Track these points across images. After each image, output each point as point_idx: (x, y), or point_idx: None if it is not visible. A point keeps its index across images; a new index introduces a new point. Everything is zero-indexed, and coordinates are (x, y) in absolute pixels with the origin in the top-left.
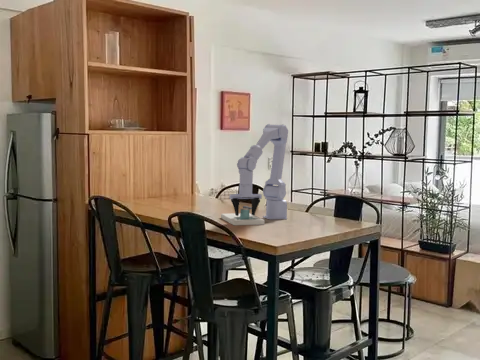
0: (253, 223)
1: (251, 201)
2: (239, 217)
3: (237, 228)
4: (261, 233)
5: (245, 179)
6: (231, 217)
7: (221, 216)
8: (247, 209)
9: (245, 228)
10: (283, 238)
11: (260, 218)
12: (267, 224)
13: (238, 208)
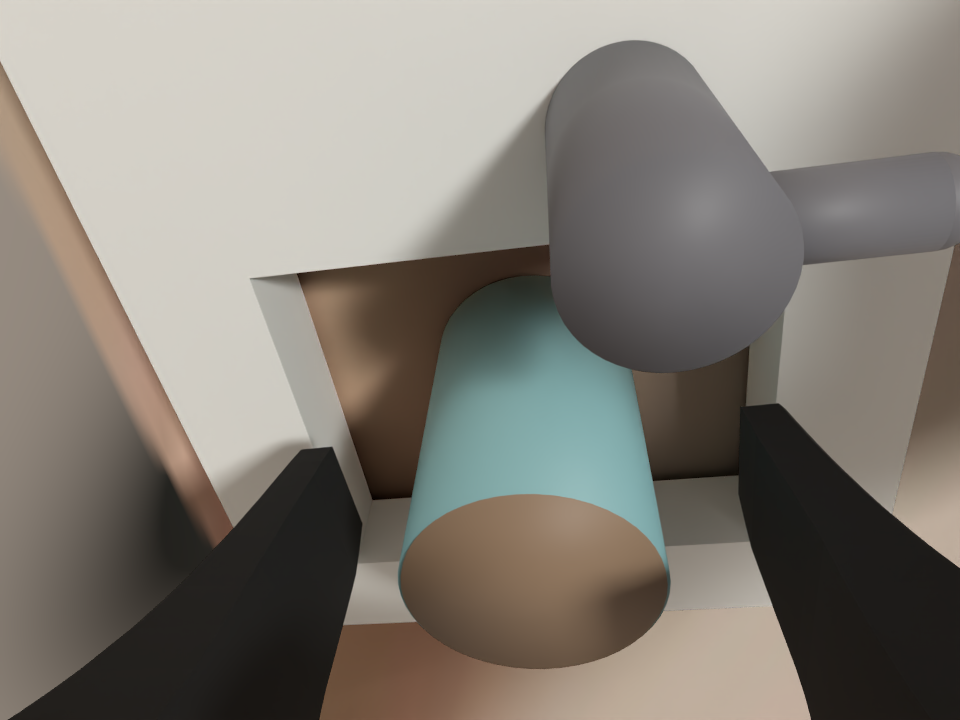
0: None
1: (910, 700)
2: (432, 252)
3: (352, 685)
4: None
5: None
6: (223, 345)
7: None
8: (582, 648)
9: (455, 690)
10: None
11: (884, 468)
12: (931, 484)
13: (318, 706)
